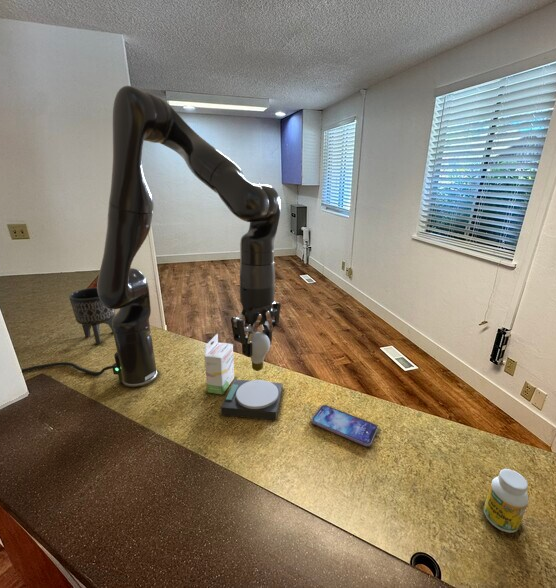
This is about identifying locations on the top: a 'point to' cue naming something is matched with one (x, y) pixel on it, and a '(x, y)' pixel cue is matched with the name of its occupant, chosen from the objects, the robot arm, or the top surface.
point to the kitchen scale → (253, 399)
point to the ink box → (218, 366)
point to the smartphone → (345, 425)
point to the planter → (90, 311)
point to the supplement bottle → (507, 500)
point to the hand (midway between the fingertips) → (257, 349)
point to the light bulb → (259, 350)
